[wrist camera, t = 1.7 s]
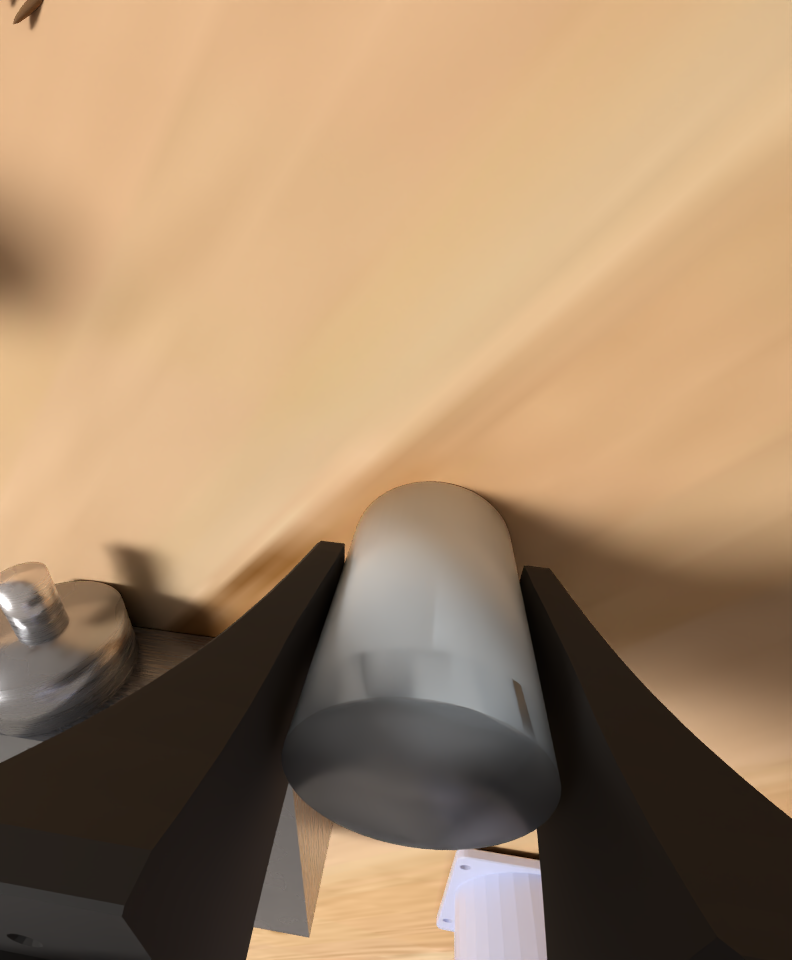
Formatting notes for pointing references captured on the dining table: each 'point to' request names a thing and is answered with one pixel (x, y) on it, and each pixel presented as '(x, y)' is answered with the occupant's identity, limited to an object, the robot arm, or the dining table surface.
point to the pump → (426, 683)
